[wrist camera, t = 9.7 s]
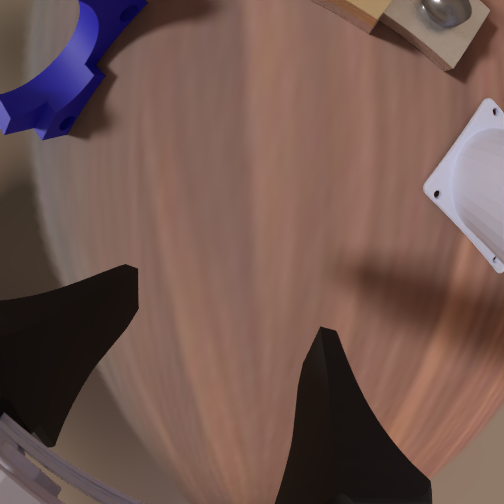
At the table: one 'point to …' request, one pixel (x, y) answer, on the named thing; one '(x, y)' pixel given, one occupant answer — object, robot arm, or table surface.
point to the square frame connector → (419, 23)
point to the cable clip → (68, 73)
